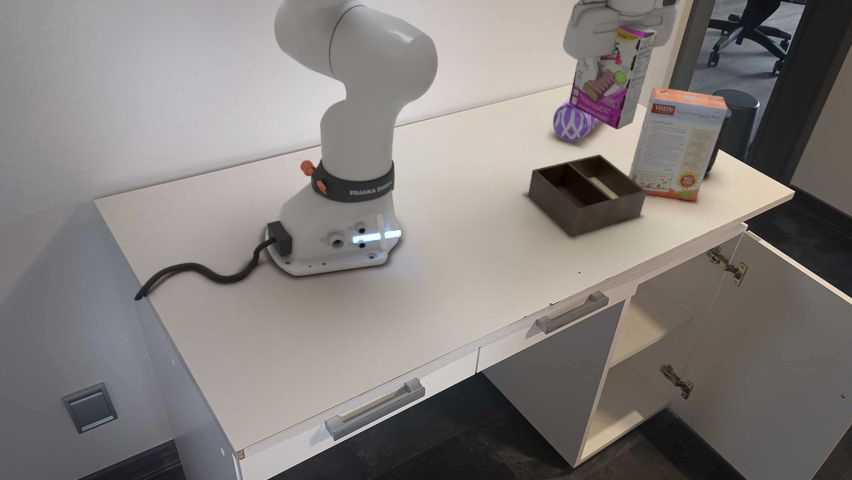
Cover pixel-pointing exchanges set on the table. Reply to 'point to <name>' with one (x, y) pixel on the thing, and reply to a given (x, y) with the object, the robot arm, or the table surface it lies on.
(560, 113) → the pencil case
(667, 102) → the cracker box
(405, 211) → the table surface
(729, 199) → the table surface
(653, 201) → the table surface
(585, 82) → the candy bar box
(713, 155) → the camera lens
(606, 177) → the divided storage box
